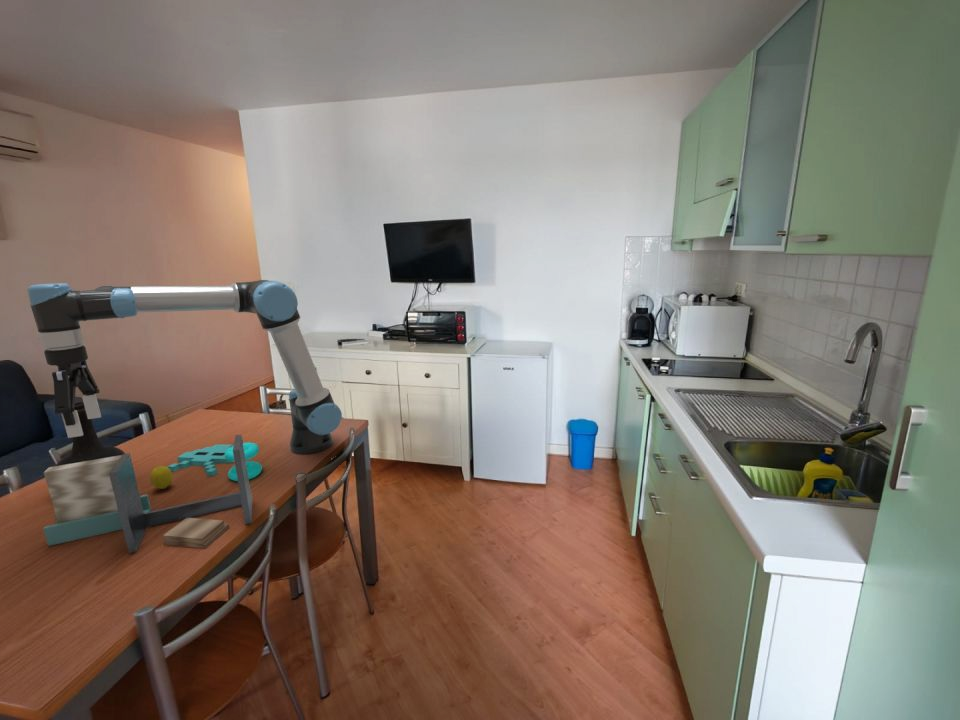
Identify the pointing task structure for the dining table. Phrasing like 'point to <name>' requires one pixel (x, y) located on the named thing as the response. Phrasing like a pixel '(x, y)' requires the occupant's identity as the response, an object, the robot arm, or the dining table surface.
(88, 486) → the birch sheet
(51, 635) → the dining table surface
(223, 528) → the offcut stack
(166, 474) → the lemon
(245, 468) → the rack
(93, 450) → the glass bottle
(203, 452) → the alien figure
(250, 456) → the turquoise spool
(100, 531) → the teal open channel
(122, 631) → the dining table surface
